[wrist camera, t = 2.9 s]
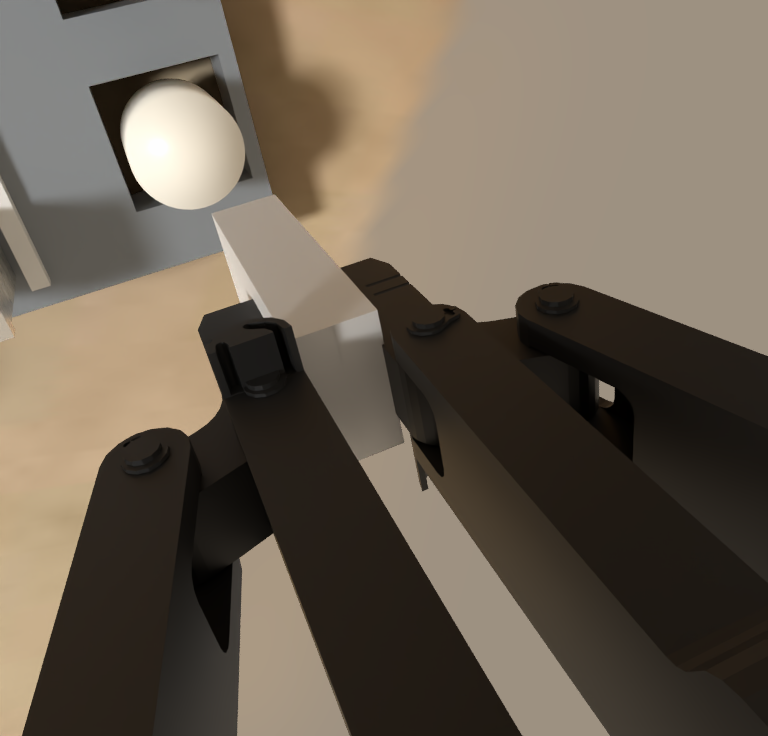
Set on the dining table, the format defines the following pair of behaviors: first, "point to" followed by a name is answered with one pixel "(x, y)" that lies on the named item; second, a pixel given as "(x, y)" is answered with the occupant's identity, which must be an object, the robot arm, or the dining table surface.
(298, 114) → the dining table surface
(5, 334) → the slider knob
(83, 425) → the dining table surface
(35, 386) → the dining table surface
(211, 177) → the button ivory
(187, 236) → the panel
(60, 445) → the dining table surface
